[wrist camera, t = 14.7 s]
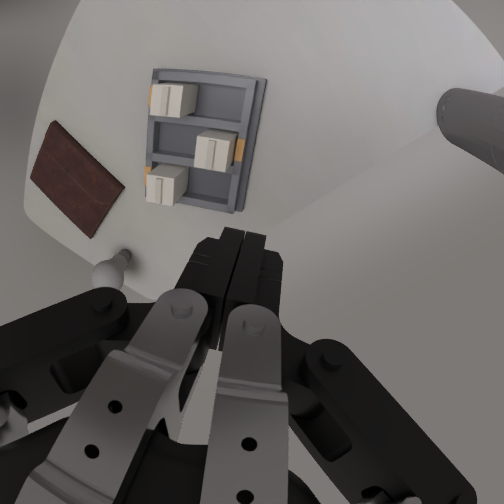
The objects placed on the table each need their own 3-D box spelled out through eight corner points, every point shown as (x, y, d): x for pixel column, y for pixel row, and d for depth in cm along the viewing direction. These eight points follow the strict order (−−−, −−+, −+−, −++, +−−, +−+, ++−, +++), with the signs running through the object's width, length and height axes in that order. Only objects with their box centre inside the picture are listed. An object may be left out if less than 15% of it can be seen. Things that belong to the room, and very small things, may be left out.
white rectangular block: (238, 132, 37) (228, 142, 32) (234, 159, 39) (223, 174, 34) (210, 127, 37) (195, 137, 32) (206, 154, 40) (192, 168, 34)
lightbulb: (129, 235, 51) (99, 270, 42) (146, 261, 54) (120, 298, 45) (108, 245, 53) (79, 278, 44) (125, 269, 56) (99, 304, 47)
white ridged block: (198, 84, 34) (181, 86, 28) (195, 112, 36) (177, 118, 31) (171, 82, 34) (150, 84, 29) (168, 109, 36) (147, 115, 31)
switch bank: (266, 79, 34) (264, 78, 31) (243, 208, 45) (239, 218, 42) (156, 68, 34) (145, 68, 31) (148, 190, 45) (138, 198, 42)
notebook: (93, 235, 53) (88, 241, 51) (34, 176, 47) (28, 179, 45) (126, 185, 46) (120, 190, 44) (57, 119, 40) (50, 121, 38)
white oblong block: (189, 165, 41) (172, 180, 35) (187, 189, 43) (171, 208, 37) (164, 161, 41) (144, 175, 35) (163, 185, 43) (144, 203, 38)
